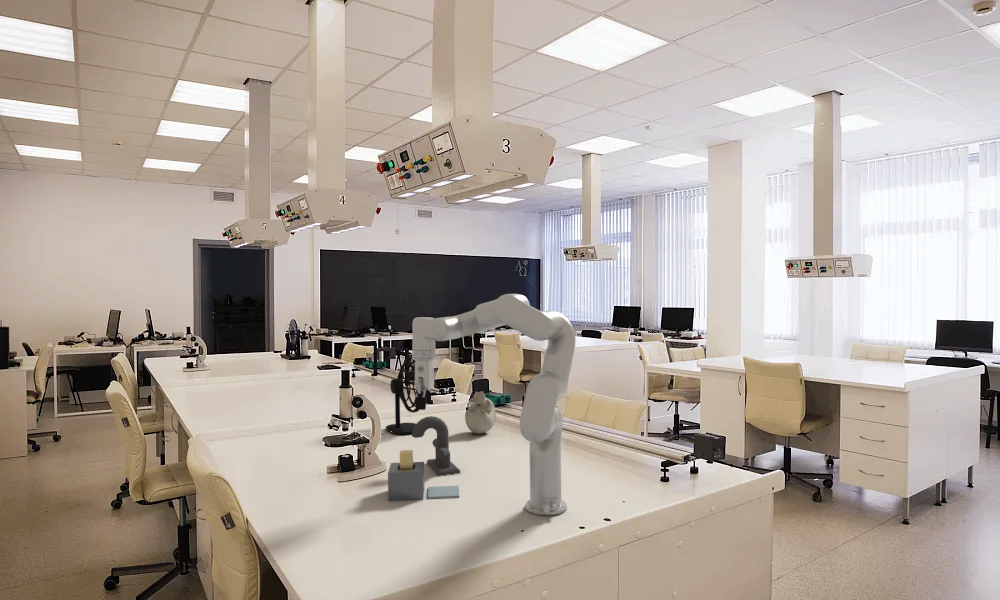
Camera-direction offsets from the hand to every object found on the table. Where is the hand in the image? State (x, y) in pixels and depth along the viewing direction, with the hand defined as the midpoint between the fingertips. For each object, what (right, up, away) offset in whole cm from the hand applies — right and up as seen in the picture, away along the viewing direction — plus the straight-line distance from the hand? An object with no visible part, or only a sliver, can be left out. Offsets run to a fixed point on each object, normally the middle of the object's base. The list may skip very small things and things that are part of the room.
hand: (423, 406), depth 197 cm
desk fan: (-20, -28, +91) cm, 97 cm away
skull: (+16, -27, +83) cm, 89 cm away
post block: (-5, -29, -1) cm, 29 cm away
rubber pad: (+7, -28, 0) cm, 29 cm away
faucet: (0, -28, +26) cm, 39 cm away
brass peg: (-5, -27, -1) cm, 27 cm away
